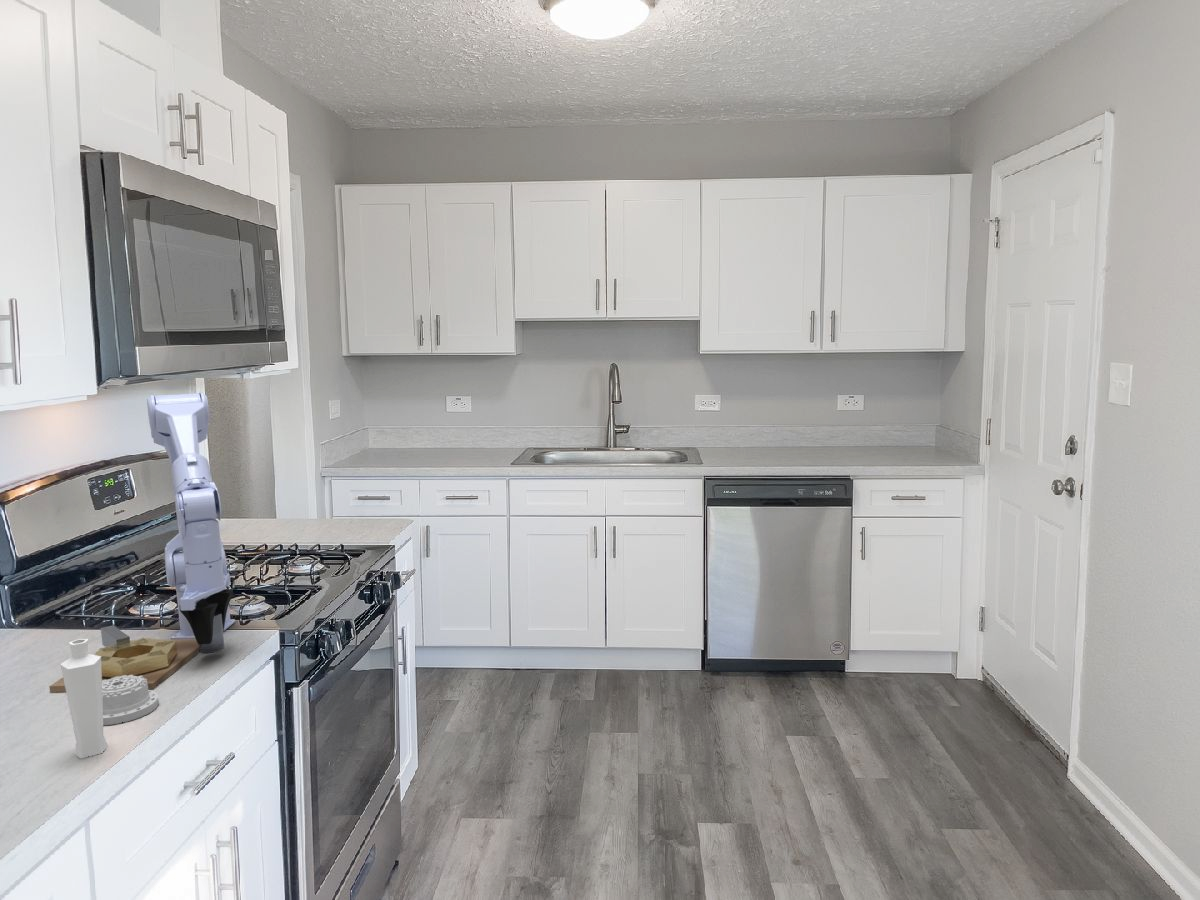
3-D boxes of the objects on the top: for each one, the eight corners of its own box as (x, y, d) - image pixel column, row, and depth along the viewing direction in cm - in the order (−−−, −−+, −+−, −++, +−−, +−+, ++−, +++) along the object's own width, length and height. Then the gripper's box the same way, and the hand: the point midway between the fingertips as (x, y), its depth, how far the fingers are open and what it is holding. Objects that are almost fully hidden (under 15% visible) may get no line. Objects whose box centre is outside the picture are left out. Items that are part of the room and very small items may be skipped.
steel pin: (205, 645, 152) (201, 611, 151) (228, 645, 152) (225, 611, 151) (194, 654, 148) (191, 619, 147) (218, 653, 148) (215, 618, 147)
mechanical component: (93, 703, 133) (72, 731, 123) (89, 674, 132) (68, 701, 123) (165, 694, 135) (150, 722, 126) (162, 666, 135) (147, 692, 125)
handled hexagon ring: (189, 660, 145) (188, 642, 145) (99, 684, 136) (97, 666, 135) (149, 633, 159) (148, 617, 159) (65, 653, 150) (63, 636, 150)
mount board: (119, 646, 157) (118, 640, 157) (209, 643, 157) (209, 637, 156) (50, 692, 137) (49, 685, 137) (153, 689, 137) (152, 682, 137)
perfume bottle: (117, 749, 117) (105, 640, 115) (80, 762, 114) (67, 649, 112) (104, 739, 120) (92, 632, 118) (68, 751, 117) (55, 642, 115)
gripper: (198, 549, 155) (205, 624, 156) (157, 572, 140) (166, 654, 142) (239, 548, 154) (245, 623, 156) (202, 571, 140) (210, 653, 142)
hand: (210, 638), depth 149 cm, fingers closed on steel pin, 4 cm apart
